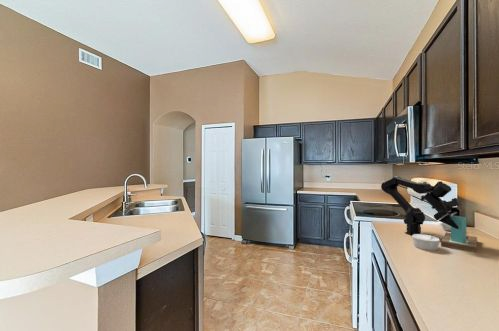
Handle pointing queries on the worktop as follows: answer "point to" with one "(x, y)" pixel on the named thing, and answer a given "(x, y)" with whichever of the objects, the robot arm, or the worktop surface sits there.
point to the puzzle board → (467, 246)
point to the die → (445, 226)
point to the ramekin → (425, 242)
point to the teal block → (459, 229)
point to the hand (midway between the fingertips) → (462, 227)
